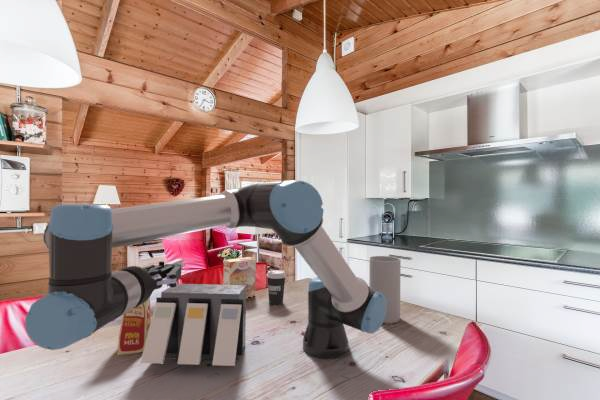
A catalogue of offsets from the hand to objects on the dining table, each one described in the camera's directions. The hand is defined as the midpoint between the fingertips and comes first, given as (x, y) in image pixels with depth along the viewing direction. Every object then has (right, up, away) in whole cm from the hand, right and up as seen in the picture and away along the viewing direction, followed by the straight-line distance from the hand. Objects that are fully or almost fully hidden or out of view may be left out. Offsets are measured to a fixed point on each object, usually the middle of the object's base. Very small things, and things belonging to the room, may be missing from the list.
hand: (180, 264), depth 78 cm
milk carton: (-23, -32, +21) cm, 45 cm away
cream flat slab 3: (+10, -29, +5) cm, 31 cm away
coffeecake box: (+1, -33, +73) cm, 80 cm away
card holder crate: (0, -32, +19) cm, 37 cm away
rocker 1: (-10, -29, +6) cm, 31 cm away
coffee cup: (+19, -33, +66) cm, 76 cm away
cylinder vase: (+66, -33, +48) cm, 88 cm away
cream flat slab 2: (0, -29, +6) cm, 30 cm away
